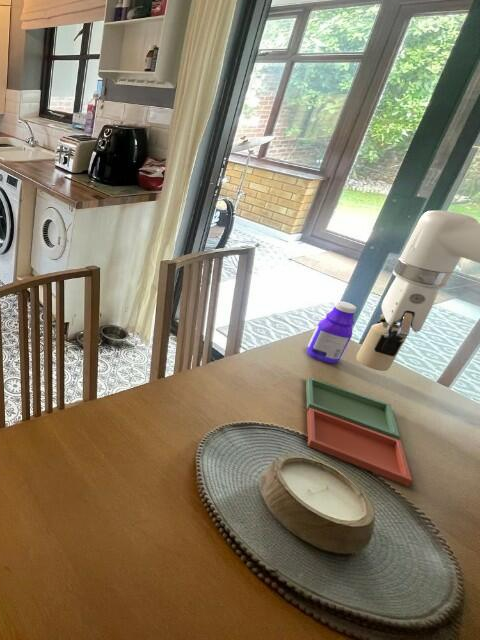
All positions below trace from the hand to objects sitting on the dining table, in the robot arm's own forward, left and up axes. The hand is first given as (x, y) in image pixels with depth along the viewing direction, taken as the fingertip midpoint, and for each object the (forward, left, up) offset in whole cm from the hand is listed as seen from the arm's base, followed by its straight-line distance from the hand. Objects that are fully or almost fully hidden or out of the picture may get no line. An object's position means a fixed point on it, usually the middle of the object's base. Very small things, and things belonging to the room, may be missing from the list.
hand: (381, 345), depth 89 cm
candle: (0, 0, -5) cm, 5 cm away
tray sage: (0, 0, -19) cm, 19 cm away
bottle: (+4, -21, -19) cm, 29 cm away
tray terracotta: (0, +13, -19) cm, 23 cm away
